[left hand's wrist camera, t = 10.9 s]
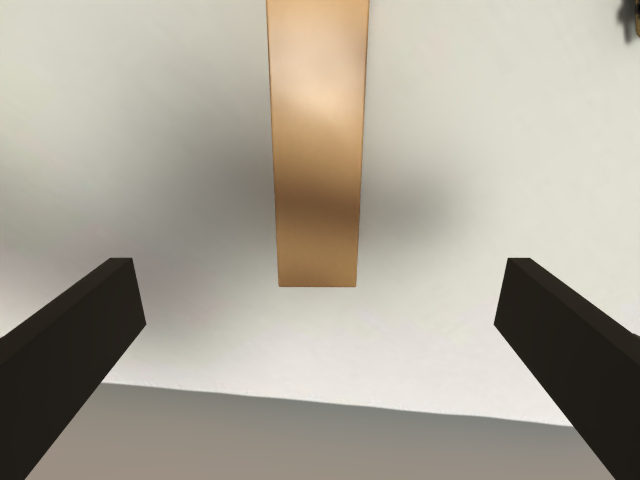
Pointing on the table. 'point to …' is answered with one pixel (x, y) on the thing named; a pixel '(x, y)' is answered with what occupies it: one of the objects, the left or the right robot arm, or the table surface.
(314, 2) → the wooden beam
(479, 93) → the table surface
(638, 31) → the spray gun
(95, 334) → the left robot arm
